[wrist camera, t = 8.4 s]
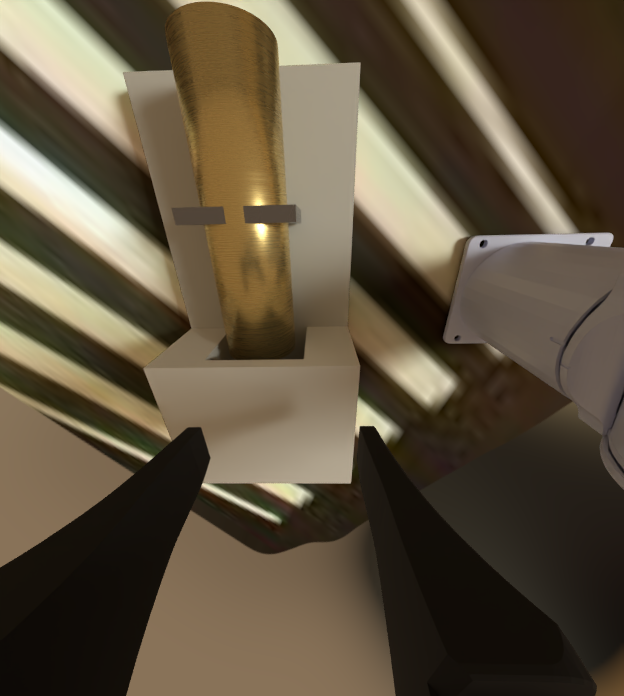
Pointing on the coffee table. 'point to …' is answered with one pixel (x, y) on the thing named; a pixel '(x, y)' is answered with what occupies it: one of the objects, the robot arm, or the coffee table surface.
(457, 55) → the coffee table surface
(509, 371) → the coffee table surface
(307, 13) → the coffee table surface
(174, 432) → the housing
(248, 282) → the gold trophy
